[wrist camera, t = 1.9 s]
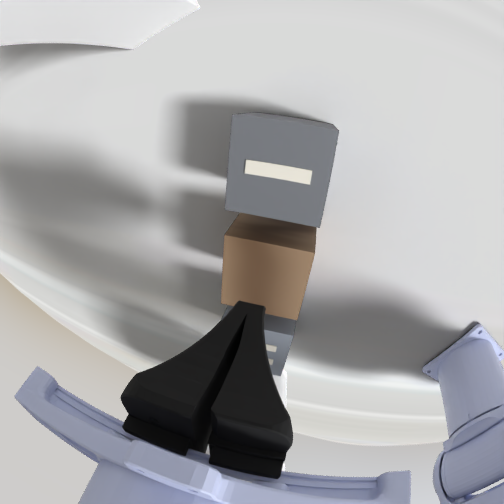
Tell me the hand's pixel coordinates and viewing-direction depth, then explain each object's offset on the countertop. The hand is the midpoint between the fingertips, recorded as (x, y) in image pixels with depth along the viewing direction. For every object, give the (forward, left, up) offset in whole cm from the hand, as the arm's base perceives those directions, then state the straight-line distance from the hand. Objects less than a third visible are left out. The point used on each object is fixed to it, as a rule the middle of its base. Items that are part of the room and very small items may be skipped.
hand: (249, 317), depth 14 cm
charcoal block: (+3, -6, -8) cm, 11 cm away
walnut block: (0, 0, -8) cm, 8 cm away
